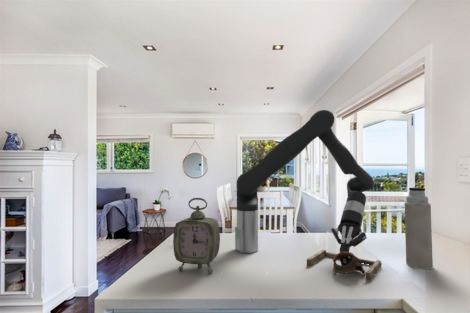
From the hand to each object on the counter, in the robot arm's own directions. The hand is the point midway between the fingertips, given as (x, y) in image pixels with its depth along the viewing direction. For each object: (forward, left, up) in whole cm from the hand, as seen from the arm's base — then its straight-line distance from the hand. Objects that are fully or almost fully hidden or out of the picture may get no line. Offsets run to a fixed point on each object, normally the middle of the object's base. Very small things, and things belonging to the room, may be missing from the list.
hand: (343, 254), depth 97 cm
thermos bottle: (+27, -8, -5) cm, 28 cm away
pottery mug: (-3, -5, -5) cm, 8 cm away
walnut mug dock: (0, 0, -4) cm, 4 cm away
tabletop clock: (-49, +16, -5) cm, 52 cm away
